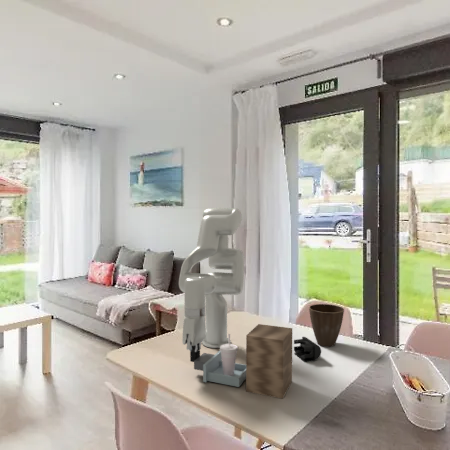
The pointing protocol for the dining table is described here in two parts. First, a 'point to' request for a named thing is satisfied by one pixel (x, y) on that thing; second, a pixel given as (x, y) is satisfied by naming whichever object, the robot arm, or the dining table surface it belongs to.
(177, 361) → the dining table surface
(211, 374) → the tray
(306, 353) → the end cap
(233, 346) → the smoothie
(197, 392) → the dining table surface
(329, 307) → the plant pot
